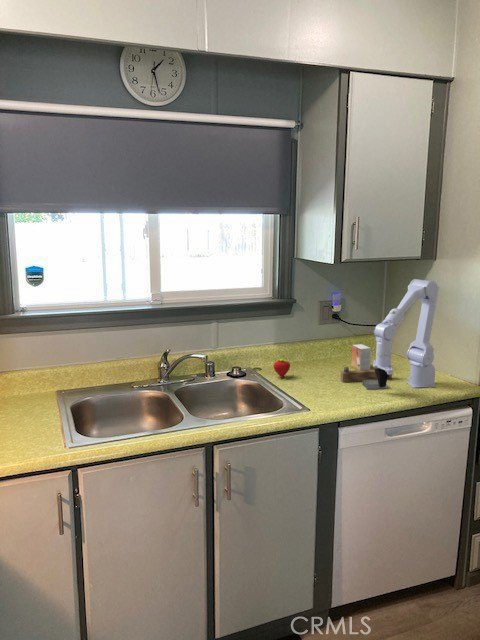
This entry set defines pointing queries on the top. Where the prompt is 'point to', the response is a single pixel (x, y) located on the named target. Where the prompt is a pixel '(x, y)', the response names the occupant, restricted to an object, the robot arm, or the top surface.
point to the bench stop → (358, 375)
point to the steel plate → (372, 384)
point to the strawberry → (281, 367)
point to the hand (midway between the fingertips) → (382, 386)
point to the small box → (361, 357)
